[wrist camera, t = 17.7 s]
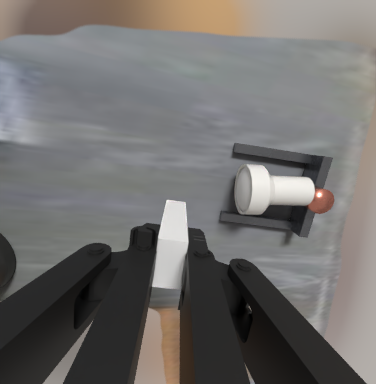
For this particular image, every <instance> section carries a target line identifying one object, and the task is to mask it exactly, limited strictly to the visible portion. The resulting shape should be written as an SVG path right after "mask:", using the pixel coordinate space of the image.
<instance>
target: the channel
mask: <svg viewBox="0 0 376 384" xmlns="http://www.w3.org/2000/svg"><path fill="white" fill-rule="evenodd" d="M233 152H237V153H244V154H250V155H256V156H263V157H269V158H276V159H282V160H289V161H295V162H302V163H306V165H305V169H304V172H303V176H302V177H308V178H310V179H311V180H312V181H313V184H314V188H315V194H314V198H313V200H312V202H311V203H310V204H309V205H306V206H295V205H294V207H293V210H292V214H291V217H290V220H286V219H279V218H271V217H264V216H257V215H245V214H240V213H234V212H227V211H221V214H220V220H221V221H228V222H235V223H243V224H251V225H258V226H266V227H274V228H281V229H289V230H292V231H293V232H294V233H296V234H297V235H298V236H299V237H308V234H309V231H310V228H311V225H312V222H313V218H314V215H315V213H318V214H322V213H325V212H327V211H328V210H330V209H331V207H332V206H333V204H334V196H333V194H332V193H331V192H330V191H328V190H325V189H323V187H324V184H325V181H326V178H327V175H328V172H329V168H330V165H331V162H332V159H333V158H331V157H325V156H316V155H308V154H302V153H296V152H290V151H283V150H277V149H271V148H264V147H258V146H252V145H245V144H239V143H235V144H234V149H233Z"/></svg>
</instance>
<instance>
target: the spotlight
mask: <svg viewBox="0 0 376 384" xmlns="http://www.w3.org/2000/svg"><path fill="white" fill-rule="evenodd" d="M234 193H235V203H236V207H237V210H238V212H239V213H240V214H245V215H259V214H262V213H263V212H264V211H265V210H266V209H267V207H268V206H269V205H295V206H306V205H309V204H310V203H311V202H312V200H313V198H314V194H315V188H314V184H313V181H312V180H311V179H310V178H308V177H293V176H271V175H270V174H269V173H268V171H267V170H266V168H265V167H264V166H262V165H252V164H243V165H242V166H240V168H239V170H238V172H237V175H236V179H235V188H234Z"/></svg>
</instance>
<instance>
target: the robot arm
mask: <svg viewBox="0 0 376 384" xmlns="http://www.w3.org/2000/svg"><path fill="white" fill-rule="evenodd" d="M15 265H16V261H15V255H14V252H13V250H12V248H11V246H10V244H9V243H8V241H7V240H6V239H5V238H4V237H3V236H2V235H1V234H0V288H1V287H2V286H3V285H4V284H6V283H7V282H8V281H9V280H10V279H11V277H12V275H13V273H14V271H15ZM181 284H182V289H181ZM152 287H160V288H169V289H179V290H181V295H180V301H179V307H178V310H180V384H250V381H249V377H248V374H247V370H246V367H245V364H246V366H247V368H248V370H249V372H250V374H251V376H252V378H253V380H254V382H255V384H366V383H365V382H364V380H363V379H362V378H360V376H359V375H358V374H357V373H356V372H355V371H354V370H353V369H352V368H351V367H350V366H349V365H348V364H347V362H346V361H345V360H344V359H343V358H342V357H341V356H340V355H339V354H338V353H337V352H336V351H335V350H334V349H333V348H332V347H331V346H330V344H329V343H328V342H327V341H326V340H325V339H324V338H323V337H322V336H321V335H320V334H319V333H318V332H317V331H316V330H315V329H314V327H313V326H312V325H311V324H310V323H309V322H308V321H307V320H306V319H305V318H304V317H303V316H302V315H301V314H300V313H299V312H298V311H297V309H296V308H295V307H294V306H293V305H292V304H291V303H290V302H289V301H288V300H287V299H286V298H285V297H284V296H283V295H282V294H281V293H280V291H279V290H278V289H277V288H276V287H275V286H274V285H273V284H272V283H271V282H270V281H269V280H268V279H267V278H266V277H265V276H264V275H263V273H262V272H261V271H260V270H259V269H258V268H257V267H256V266H255V265H254V264H252V263H251V262H249V261H247V260H245V259H232V260H231V261H230V264H229V265H227V264H224V263H221V262H218V261H216V260H215V258H214V255H213V253H212V252H211V251H209V250H208V247H207V243H206V239H205V235H204V233H203V232H202V231H201V230H200V229H195V228H187V216H186V203H185V202H179V201H172V200H167V201H166V205H165V210H164V214H163V218H162V222H161V225H158V224H150V223H146V224H144V225H143V226H137V227H134V228H133V229H131V234H130V245H129V248H128V250H125V251H121V252H111V247H110V246H109V245H106V244H102V243H93V244H89V245H86V246H84V247H82V248H81V249H79V250H78V251H76V252H75V253H73V254H72V255H70V256H69V257H67V258H66V259H64V260H63V261H61V262H60V263H58V264H57V265H55V266H54V267H52V268H51V269H49V270H48V271H46V272H45V273H43V274H42V275H40V276H39V277H37V278H36V279H35V280H33V281H32V282H30V283H29V284H27V285H26V286H24V287H23V288H21V289H20V290H18V291H17V292H15V293H14V294H12V295H11V296H9V297H8V298H6V299H5V300H3V301H2V302H0V384H42V383H43V382H44V381H45V380H46V378H47V377H48V376H49V375H50V373H51V372H52V371H53V370H54V368H55V367H56V366H57V365H58V363H59V362H60V361H61V360H62V358H63V357H64V356H65V355H66V353H67V352H68V351H69V350H70V348H71V347H72V346H73V345H74V343H75V342H76V341H77V339H78V338H79V337H80V335H82V333H83V332H84V331H85V329H86V328H87V327H88V326H89V325H90V323H91V322H92V321H93V322H92V324H91V327H90V328H89V331H88V333H87V335H86V337H85V339H84V341H83V343H82V345H81V347H80V349H79V351H78V353H77V355H76V358H75V360H74V362H73V364H72V366H71V368H70V370H69V372H68V374H67V376H66V378H65V380H64V382H63V384H134V380H135V375H136V370H137V365H138V359H139V354H140V349H141V343H142V338H143V333H144V328H145V323H146V317H147V312H148V307H149V302H150V296H151V289H152ZM249 306H250V308H251V310H252V311H251V310H250V309H249ZM244 362H245V363H244Z"/></svg>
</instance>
